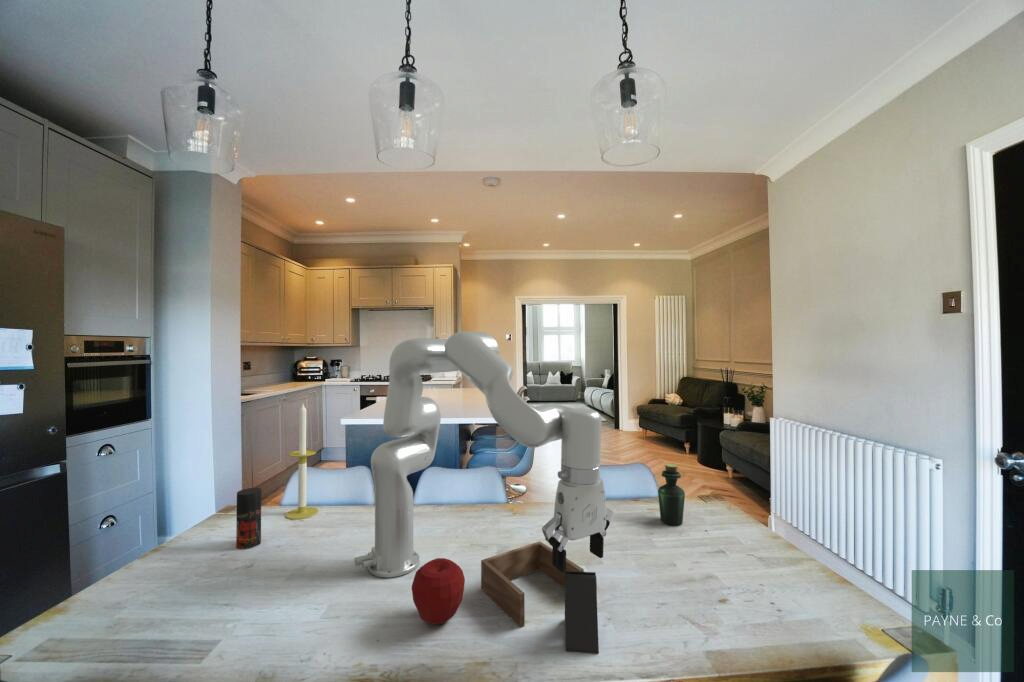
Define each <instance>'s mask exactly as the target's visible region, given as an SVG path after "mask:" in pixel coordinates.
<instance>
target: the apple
mask: <svg viewBox="0 0 1024 682" xmlns="http://www.w3.org/2000/svg"><path fill="white" fill-rule="evenodd" d="M465 582H466V579H465V576H464V572H463V569H462V567H461V566H460V565H458V564H457V563H456V562H454V561H453V560H451V559H449V558H443V557H442V558H441V557H437V558H433V559H432V560H430V561H427V562H426V563H424V564H423V565H422V566H420V567H419V569H417V570H416V571H415V574H414V578H413V580H412V584H411V593H412V598H413V603H414V605H415V608H416V610H417V612H418V614H419V616H420V619H421V620H422V621H424V622H425V623H429V624H433V625H437V626H438V625H443V624H445V623H447V622H449V620H450V619H452V618H453V617H454V615H456V613H457V611H458V610H459V607H460V605H461V604H462V601H463V597H464V592H465Z"/></svg>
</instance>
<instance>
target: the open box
mask: <svg viewBox="0 0 1024 682" xmlns="http://www.w3.org/2000/svg"><path fill="white" fill-rule="evenodd" d="M552 550H553V548H552V547H550V546H549V545H546V544H545V543H543V542H542V541H536V542H533V543H530V544H527V545H524V546H521V547H518V548H514V549H512V550H509V551H506V552H502V553H499V554H496V555H493V556H490V557H486V558H484V559H481V560H480V564H481V565H480V570H481V571H480V572H481V573H480V587H481V588H480V589H481V590H482V591H483V592H484V593H485V594H486V595H487V596H488V597H489V598H490V599H491V600H492V601H493V602H494V603H495V604H496V605H497V606H498V607H499V608H500V609H501V610H502V611H503V612H504V613H505V614H506V615H507V616H508V617H509V618H510V619H511V620H512V621H513V622H514V623H515V624H516V625H517V626H518V627H519V628H523V627H525V624H526V623H525V621H526V620H525V612H526V611H525V610H526V609H525V592H524V591H523V590H522V589H520V588H519V587H518V586H517V585H516V584H515V583H513V580H516V579H518V578H522V577H524V576H527V575H529V574H532V573H535V572H537V571H540V572H541V573H542V574H543V575H546V576H547V577H548V578H549V579H550V580H552V581H553V582H555V583H556V584H558V585H559V586H560V587H562V588H563V589H564V590H565V572H561V571H560V570H558V569H557V568H556V567H554V566H553V564H552ZM565 571H577V572H585V569H584V568H582V567H581V566H579V565H577V563H574V562H573V561H571V560H569V558H567V557H566V570H565Z"/></svg>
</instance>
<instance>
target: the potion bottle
mask: <svg viewBox="0 0 1024 682" xmlns="http://www.w3.org/2000/svg"><path fill="white" fill-rule="evenodd" d="M664 468H665V469H664V470H663V471H662V473H661V476H662V477H663V478H664V479H665V484H663V485H661V486H659V488H658V489H657V495H658V505H659V515H660V516H659V517H660V521H661V523H663V524H665V525H668V526H672V527H678V526H681V525H683V523H684V521H683V520H684V509H685V499H686V498H685V495H686V491H684V488H683V489H682V487H680V486H679V485H677V482H678V480H679V479H682V478H681V477H682V475H681V473H680V472H679V471H677V469H678V465H677V464H676V463H665V464H664Z"/></svg>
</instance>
